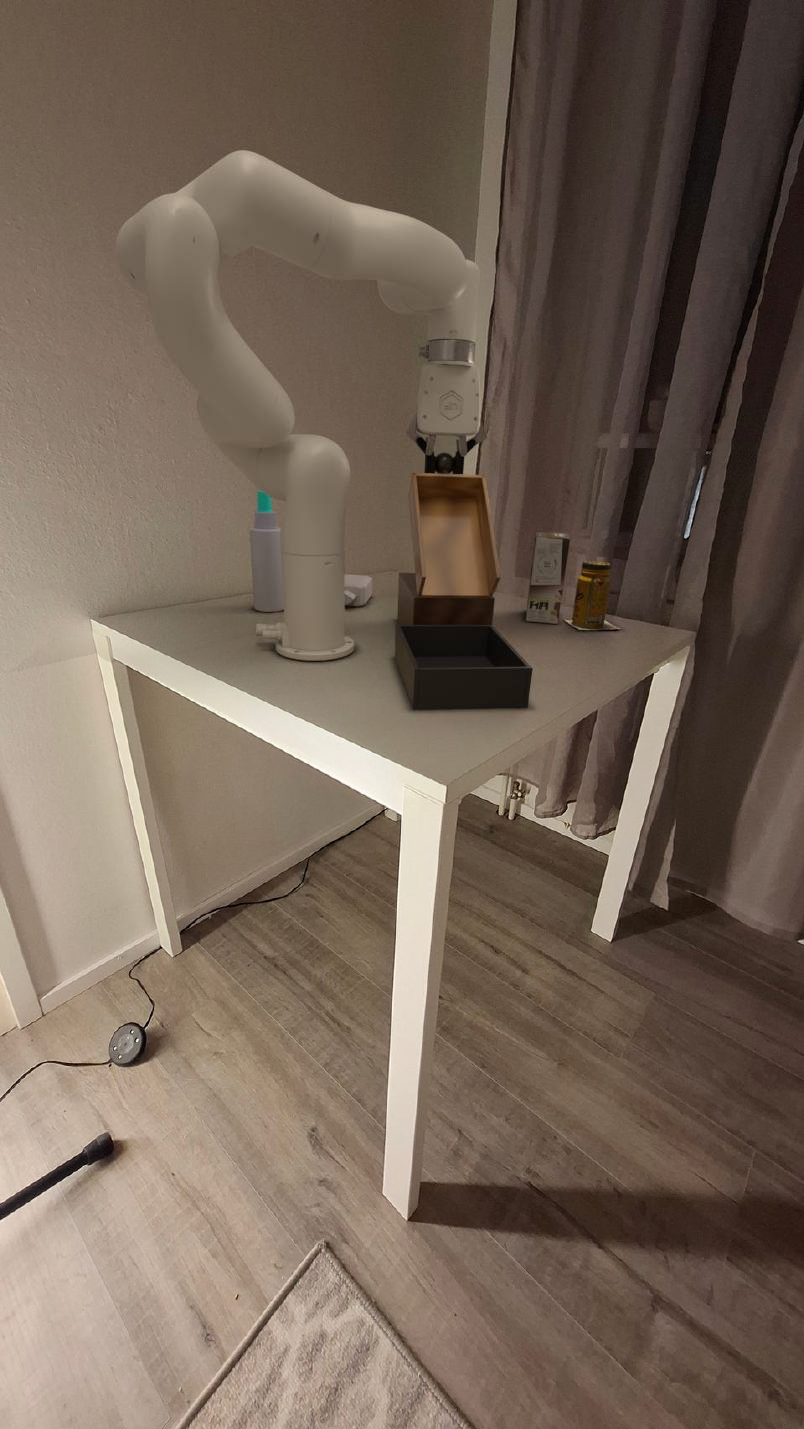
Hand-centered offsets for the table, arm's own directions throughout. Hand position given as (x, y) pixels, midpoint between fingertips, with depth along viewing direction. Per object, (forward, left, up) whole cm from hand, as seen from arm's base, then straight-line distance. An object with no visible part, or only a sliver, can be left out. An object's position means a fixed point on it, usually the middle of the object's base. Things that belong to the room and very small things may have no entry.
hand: (443, 480), depth 104 cm
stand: (0, -5, -26) cm, 26 cm away
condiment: (+31, +1, -26) cm, 40 cm away
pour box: (0, -6, -7) cm, 9 cm away
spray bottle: (-31, +13, -26) cm, 42 cm away
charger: (-16, +17, -26) cm, 35 cm away
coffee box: (+23, +7, -26) cm, 35 cm away
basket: (-2, -28, -26) cm, 38 cm away
